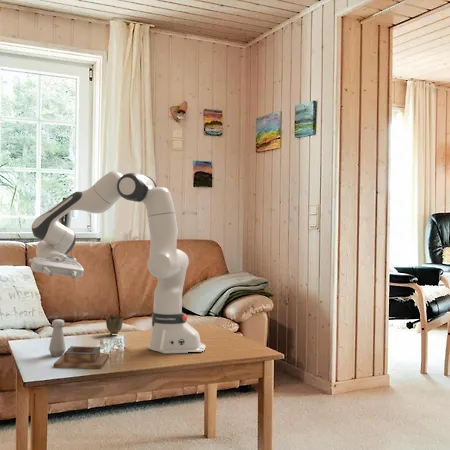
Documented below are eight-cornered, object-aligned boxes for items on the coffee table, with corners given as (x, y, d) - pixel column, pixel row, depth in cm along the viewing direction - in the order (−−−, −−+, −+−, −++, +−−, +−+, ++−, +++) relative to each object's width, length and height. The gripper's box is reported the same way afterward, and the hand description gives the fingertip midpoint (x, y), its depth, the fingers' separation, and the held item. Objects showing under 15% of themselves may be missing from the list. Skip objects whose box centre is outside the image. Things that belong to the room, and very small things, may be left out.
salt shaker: (52, 357, 210) (53, 321, 210) (46, 354, 215) (47, 319, 214) (67, 355, 213) (68, 320, 213) (62, 352, 218) (63, 317, 218)
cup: (124, 333, 255) (125, 315, 255) (120, 337, 248) (120, 318, 247) (108, 333, 256) (108, 314, 255) (102, 336, 248) (103, 317, 248)
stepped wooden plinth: (108, 356, 214) (109, 345, 214) (101, 368, 198) (101, 356, 198) (64, 355, 213) (65, 344, 213) (53, 367, 197) (53, 354, 197)
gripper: (29, 250, 228) (37, 264, 217) (79, 258, 240) (89, 271, 228) (25, 265, 229) (33, 279, 218) (75, 272, 241) (84, 286, 230)
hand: (62, 275), depth 223 cm, fingers open, 8 cm apart
